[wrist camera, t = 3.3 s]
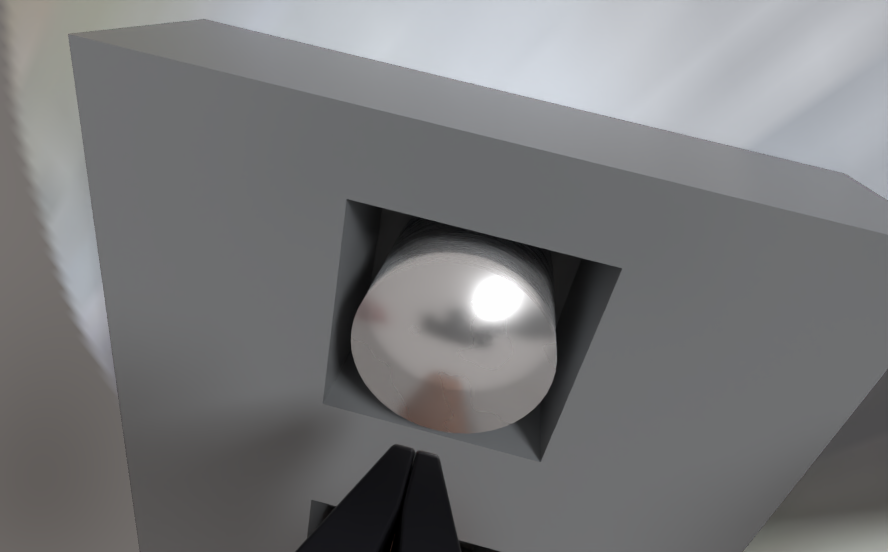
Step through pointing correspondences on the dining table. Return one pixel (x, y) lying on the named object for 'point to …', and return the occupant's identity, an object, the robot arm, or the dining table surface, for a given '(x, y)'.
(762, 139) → the dining table surface
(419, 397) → the grey plunger
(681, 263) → the block
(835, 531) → the dining table surface
